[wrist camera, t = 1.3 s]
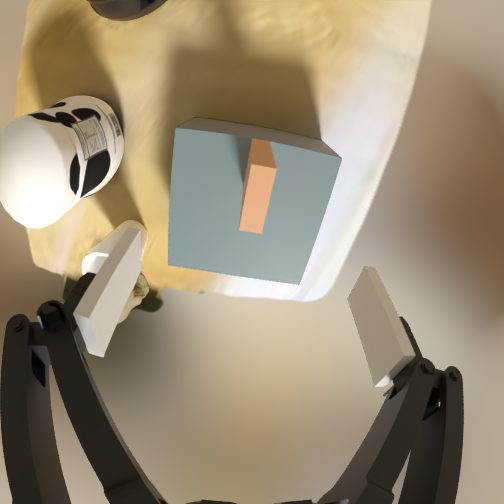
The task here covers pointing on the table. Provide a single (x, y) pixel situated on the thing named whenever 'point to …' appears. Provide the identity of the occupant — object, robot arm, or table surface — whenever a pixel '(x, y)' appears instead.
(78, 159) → the milk container
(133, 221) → the foam cup
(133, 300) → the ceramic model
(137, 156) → the table surface
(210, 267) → the lid flap
